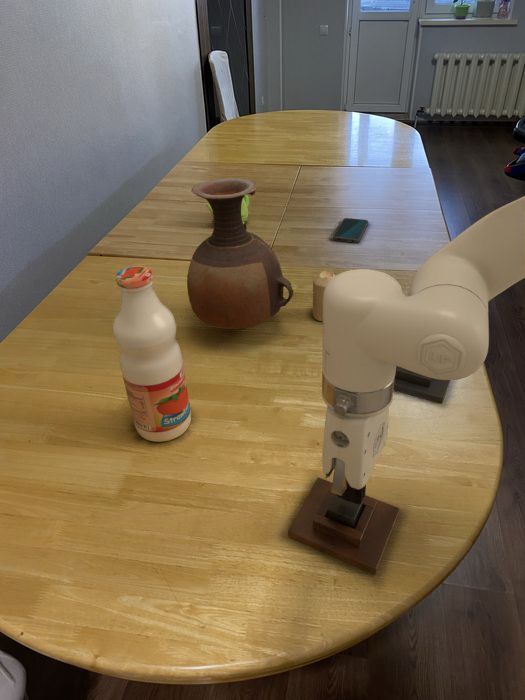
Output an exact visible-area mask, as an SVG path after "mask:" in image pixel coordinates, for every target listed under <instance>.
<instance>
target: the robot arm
mask: <svg viewBox="0 0 525 700" xmlns="http://www.w3.org/2000/svg"><path fill="white" fill-rule="evenodd" d="M335 275H336V276H335V277H333V278H332V279H331V280H330V281H329V282H328V284H327V286H326V288H325V290H324V295H323V321H322V364H321V366H322V370H321V375H322V377H321V396H322V399H323V402H324V404H325V405H326V412H325V413H326V414H325V420H324V429H323V437H322V438H323V441H322V456H321V457H322V459H321V464H322V473H323V475H324V477H325V478H326V479H328V478H330V477H331V475H332V473H333V475H332V476H333V477H332V490H331V492H332V493H334V494H337V496H338V497H339V498H342V499H344V500H345V501H348V502H353V503H355V504H358V505H360V504H361V503H362V500H363V498H364V496H365V495H366V492H367V491H366V490H367V484H368V481H369V479H370V477H371V474H372V473H373V471H374V469H375V467H376V464H377V463H378V460H379V458H380V456H381V454H382V452H383V451H384V447H385V445H386V442H387V439H388V433H389V419H390V418H389V417H390V407H391V405H392V402H393V398H394V391H395V390H394V381H395V373H396V366H399V367H401V368H404V369H407V370H409V371H412V372H415V373H417V374H420V375H423V376H427V377H430V378H434V379H440V380H451V381H457V380H462V379H465V378H468V377H470V376H472V375H473V374H475V373H476V372H477V371H478V370H479V369H480V368H481V367H482V366H483V364H484V362H485V361H486V358H487V355H488V352H489V347H490V346H489V345H490V329H489V327H490V326H489V324H490V323H489V302H490V301H491V300H493V299H494V298H496V297H497V296H498V295H500V294H502V293H503V292H504V291H506V290H507V289H509V288H510V287H512V286H513V285H515V284H517V283H518V282H520V281H521V280H524V279H525V195H524V196H522V197H519V198H517V199H515V200H513V201H511V202H509V203H507V204H505V205H502V206H501V207H498V208H496V209H495V210H493V211H491V212H489V213H488V214H487V215H484V216H483V217H481V218H480V219H479V220H477V221H476V222H474V223H473V224H471V225H470V226H469V227H467V228H466V229H464V231H462V232H461V233H459V234H458V235H457V236H456V237H454V238H453V239H451V240H450V241H448V243H446V245H444V246H443V247H442V248H440V249H439V250H438V251H436V252H435V253H434V254H433V255H432V256H430V257H429V258H428V259H427V260H426V261H425V262H424V263H423V264H422V265H421V266H420V268H419V269H418V270H417V272H416V273H415V274H414V276H413V277H412V280H411V283H410V286H409V288H408V292H407V295H406V294H405V293H404V291H403V289H402V286H401V285H400V283H399V281H398V280H397V279H396V278H395V277H393V276H391V275H389V274H388V273H386V272H383V271H380V270H376V269H367V268H357V269H350V270H346V271H345V270H344V271H343V272H340V273H338V274H335Z"/></svg>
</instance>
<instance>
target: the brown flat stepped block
mask: <svg viewBox="0 0 525 700" xmlns="http://www.w3.org/2000/svg"><path fill="white" fill-rule="evenodd" d="M332 483H333V481H329V480H327V479H324V478H321V477H317V479H316V480H315V482H314V483H313V485H312V487H311V489H310V490H309V492H308V493H307V495H306V497H305V499H304V501H303V502H302V504H301V506H300V508H299V510H298V512H297V513H296V515H295V516H294V519H293V520H292V522H291V524H290V526H289V527H288V529H287V537H289V538H291V539H294V540H296V541H298V542H301V543H303V544H305V545H307V546H309V547H311V548H314V549H316V550H318V551H321V552H323V553H325V554H327V555H329V556H332V557H335V558H336V559H339V560H341V561H343V562H346V563H348V564H350V565H352V566H354V567H357V568H360V569H361V570H364V571H366V572H368V573H370V574H373V575H376V574H377V571H378V569H379V567H380V564H381V561H382V559H383V556H384V554H385V551H386V548H387V546H388V543H389V542H390V541H389V540H390V538H391V535H392V533H393V531H394V528H395V525H396V523H397V520H398V518H399V514H400V510H401V508H400V507H397V506H396V505H392V504H389V503H387V502H384V501H383V500H382V501H381V500H379V499H377V498H374V497H371V496H368V495H366V494H365V496H364V498H363V499H364V502H363V508H362V510H361V513H360V515H359V517H358V519H357V521H356V523H355V526H354V528H352V527H349V526H347V525H345V524H342V523H340V522H337V521H335V520H332V519H330V518H328V517H327V514H328V508H329V506H330V504H331V502H332V500H333V498H334V496H335V494H334V493H332V492H331V490H332Z"/></svg>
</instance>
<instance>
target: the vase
mask: <svg viewBox="0 0 525 700" xmlns="http://www.w3.org/2000/svg"><path fill="white" fill-rule="evenodd" d="M257 189H258V186H257V183H256V182H255V181H254V180H251V179H248V178H242V177H225V178H217V179H209V180H207V181H202V182H199V183H197V184H195V185H194V186H193V187H192V188H191V192H192V194H194V195H196V197H200V198H201V199H204V200H206V201H207V203H209V204H210V206H211V208H212V211H213V217H212V219H213V231H212V233H211V235H210V236H208V237H207V238H206V239H205V240H203V241H202V242H201V243H200V244H199V245H198V246H197V247H196V249H195V251H194V252H193V254H192V256H191V260H190V262H189V265H188V271H187V276H186V286H187V288H186V289H187V294H188V295H187V296H188V301H189V304H190V307H191V310H192V312H193V314H194V316H195V317H196V318H197V319H198V320H199V321H200V322H201V323H203V324H204V325H207V326H210V327H214V328H217V329H226V330H227V329H228V330H243V329H247V328H252V327H256V326H258V325H261V324H263V323H265V322H267V321H269V320H271V319H272V318H273V317H275V316H276V315H277V314H278V313H279V312H280V311H281V308H283V307H285V306H286V305H287V304H288V303H289V302H290V301H291V300H292V298H293V296H294V290H293V286H292V283H291V282H290V281H289V280H288V279H287V278H286V277H284V275H283V271H282V266H281V263H280V261H279V259H278V257H277V255H276V253H275V252H274V251H273V249H272V248H271V246H270V245H269V244H268V243H267V242H266V241H265V240H264V239H263V238H261V237H260V236H258V235H256V234H255V233H253V232H250V231H247V224H245V223H244V224H243V222H242V217H241V204H242V200H243V197H244V195H247V194H248V195H250V196H254V195H255V194H256V191H257ZM284 288H285V289H286V290H287V291H288V297H287V298H285V297H284V292H285V291H284Z"/></svg>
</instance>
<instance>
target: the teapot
mask: <svg viewBox="0 0 525 700" xmlns="http://www.w3.org/2000/svg"><path fill="white" fill-rule="evenodd" d="M250 204H251V202H250V197H249V194H247V195H244V197H243V200H242V204H241V217H242V222H243V224H245V222H246V221H247V220H248V217H249V210H248V209H249V208H248V206H249V205H250ZM205 205H206V207H207V208H208V210H209V212H210V214H211V216H212V218H213V211H212V208H211V206H210V204H209V202H207V203H206V204H205Z"/></svg>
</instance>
